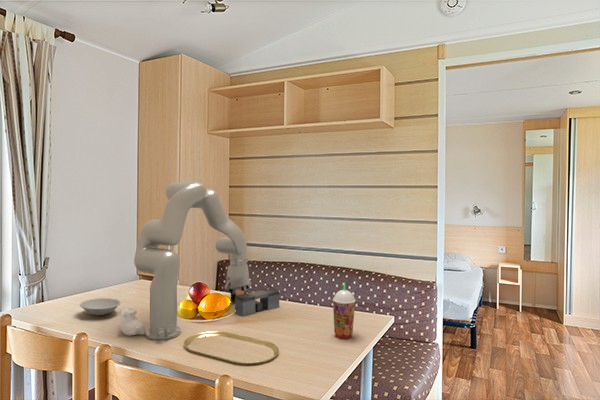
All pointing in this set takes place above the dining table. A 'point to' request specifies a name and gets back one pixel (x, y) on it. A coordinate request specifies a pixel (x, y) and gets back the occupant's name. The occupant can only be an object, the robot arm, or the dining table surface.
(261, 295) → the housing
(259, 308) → the plug
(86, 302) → the dish
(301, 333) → the dining table surface
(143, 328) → the duck figurine
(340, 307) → the smoothie
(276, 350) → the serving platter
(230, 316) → the dining table surface
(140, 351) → the dining table surface
